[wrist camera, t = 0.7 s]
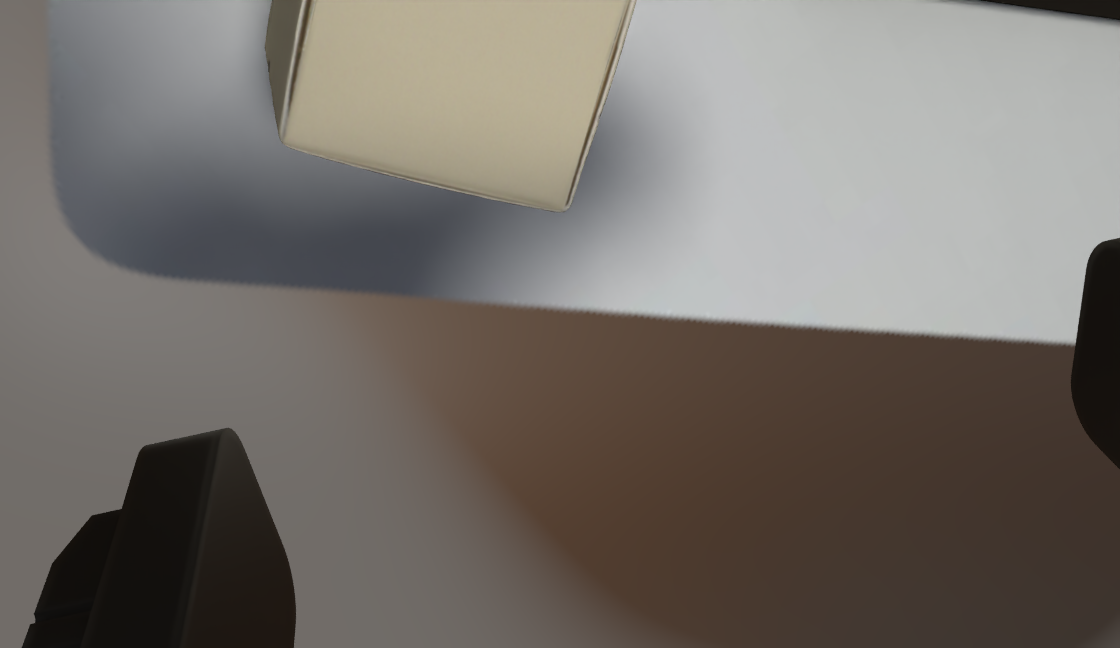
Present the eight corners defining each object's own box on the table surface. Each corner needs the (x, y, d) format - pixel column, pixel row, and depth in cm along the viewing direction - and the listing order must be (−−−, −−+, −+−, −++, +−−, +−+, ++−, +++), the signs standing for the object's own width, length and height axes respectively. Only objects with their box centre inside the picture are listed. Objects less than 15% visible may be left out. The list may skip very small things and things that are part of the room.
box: (260, 52, 27) (248, 150, 16) (296, -123, 26) (313, -157, 14) (454, 104, 29) (573, 227, 17) (496, -57, 28) (656, -41, 16)
